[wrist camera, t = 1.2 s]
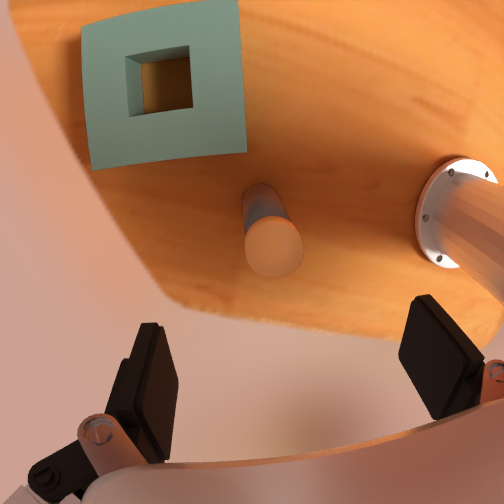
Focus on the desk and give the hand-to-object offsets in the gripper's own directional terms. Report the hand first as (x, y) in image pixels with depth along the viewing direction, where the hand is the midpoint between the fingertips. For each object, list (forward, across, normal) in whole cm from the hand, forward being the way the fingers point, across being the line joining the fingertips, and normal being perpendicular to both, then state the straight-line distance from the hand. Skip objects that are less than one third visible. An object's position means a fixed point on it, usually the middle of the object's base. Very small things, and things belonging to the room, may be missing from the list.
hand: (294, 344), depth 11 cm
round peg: (+19, 0, 0) cm, 19 cm away
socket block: (+19, +6, -11) cm, 23 cm away
